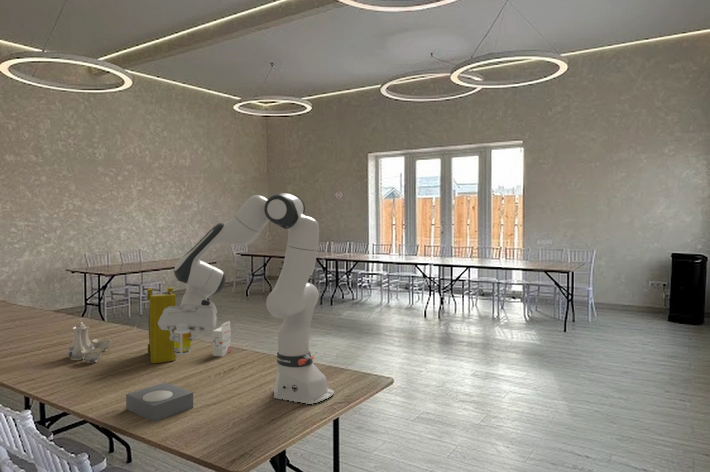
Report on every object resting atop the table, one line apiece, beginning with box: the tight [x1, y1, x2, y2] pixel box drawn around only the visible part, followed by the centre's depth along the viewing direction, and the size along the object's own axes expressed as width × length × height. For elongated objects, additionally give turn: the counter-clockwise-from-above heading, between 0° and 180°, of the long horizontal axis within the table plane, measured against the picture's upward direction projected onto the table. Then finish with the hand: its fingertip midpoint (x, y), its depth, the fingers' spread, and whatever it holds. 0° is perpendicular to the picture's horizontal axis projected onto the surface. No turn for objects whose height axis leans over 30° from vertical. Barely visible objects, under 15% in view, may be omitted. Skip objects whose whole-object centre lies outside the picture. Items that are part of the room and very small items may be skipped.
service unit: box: [125, 382, 194, 423], centre depth 155 cm, size 17×14×5 cm
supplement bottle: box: [174, 323, 192, 356], centre depth 165 cm, size 6×6×10 cm
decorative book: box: [146, 286, 177, 364], centre depth 211 cm, size 20×11×30 cm, turn 26°
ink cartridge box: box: [212, 320, 232, 358], centre depth 217 cm, size 9×5×15 cm, turn 168°
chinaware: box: [66, 321, 113, 364], centre depth 210 cm, size 28×17×17 cm, turn 21°
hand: (181, 339), depth 165 cm, fingers closed on supplement bottle, 6 cm apart
